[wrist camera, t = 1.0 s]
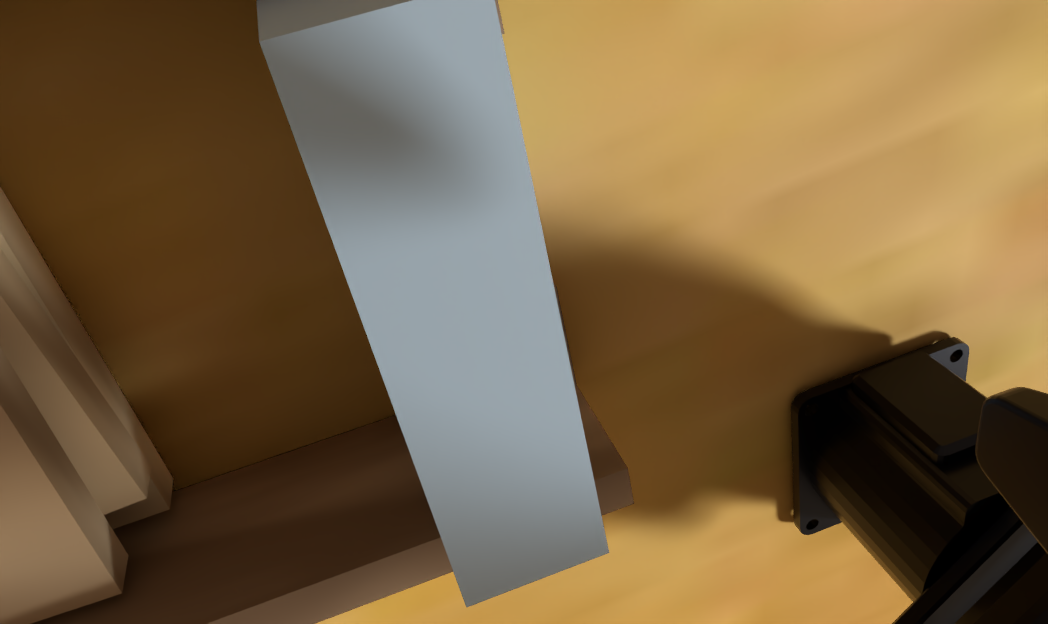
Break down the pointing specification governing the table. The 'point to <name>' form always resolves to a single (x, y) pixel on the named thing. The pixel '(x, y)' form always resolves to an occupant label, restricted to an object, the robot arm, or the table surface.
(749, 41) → the table surface
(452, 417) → the block
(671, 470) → the table surface
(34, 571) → the offcut stack
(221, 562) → the rack
